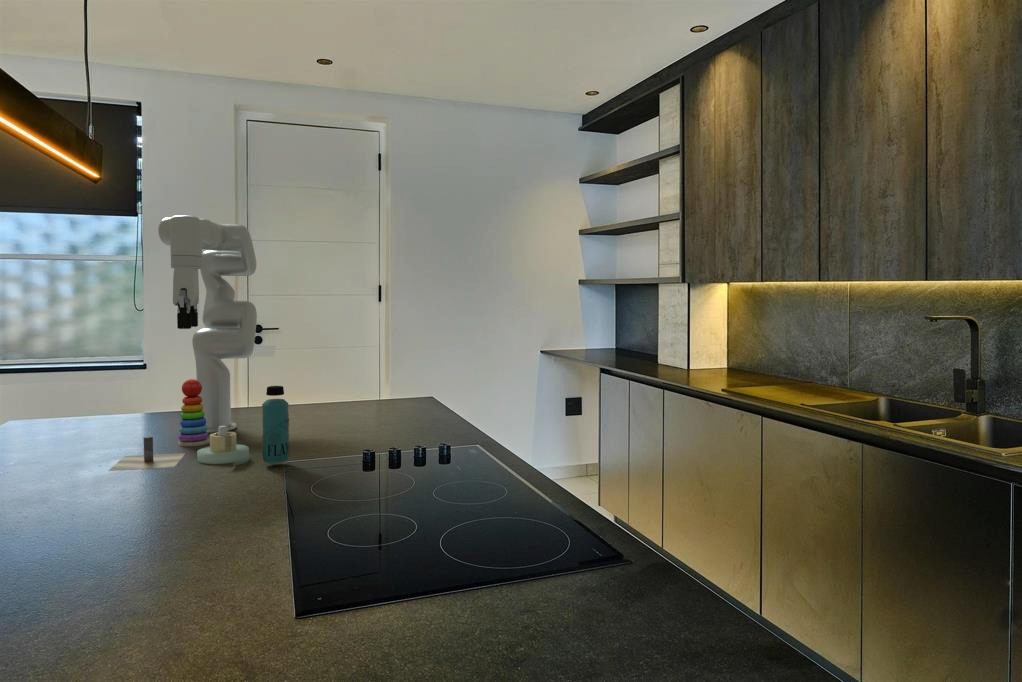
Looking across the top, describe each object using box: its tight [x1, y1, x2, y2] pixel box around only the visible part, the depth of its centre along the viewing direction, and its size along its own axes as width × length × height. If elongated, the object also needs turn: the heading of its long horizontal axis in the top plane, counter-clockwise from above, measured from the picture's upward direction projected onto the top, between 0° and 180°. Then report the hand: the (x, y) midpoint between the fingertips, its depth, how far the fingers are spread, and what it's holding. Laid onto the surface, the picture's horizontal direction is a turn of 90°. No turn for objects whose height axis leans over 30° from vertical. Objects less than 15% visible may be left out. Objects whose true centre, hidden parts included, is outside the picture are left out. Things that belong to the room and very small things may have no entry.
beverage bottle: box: [261, 385, 290, 464], centre depth 162 cm, size 6×7×20 cm
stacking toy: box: [177, 378, 210, 447], centre depth 181 cm, size 8×8×19 cm
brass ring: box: [209, 431, 237, 453], centre depth 166 cm, size 6×6×4 cm
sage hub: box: [196, 426, 250, 467], centre depth 166 cm, size 12×12×9 cm
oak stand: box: [107, 436, 186, 472], centre depth 161 cm, size 14×14×7 cm
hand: (188, 327), depth 174 cm, fingers open, 9 cm apart
